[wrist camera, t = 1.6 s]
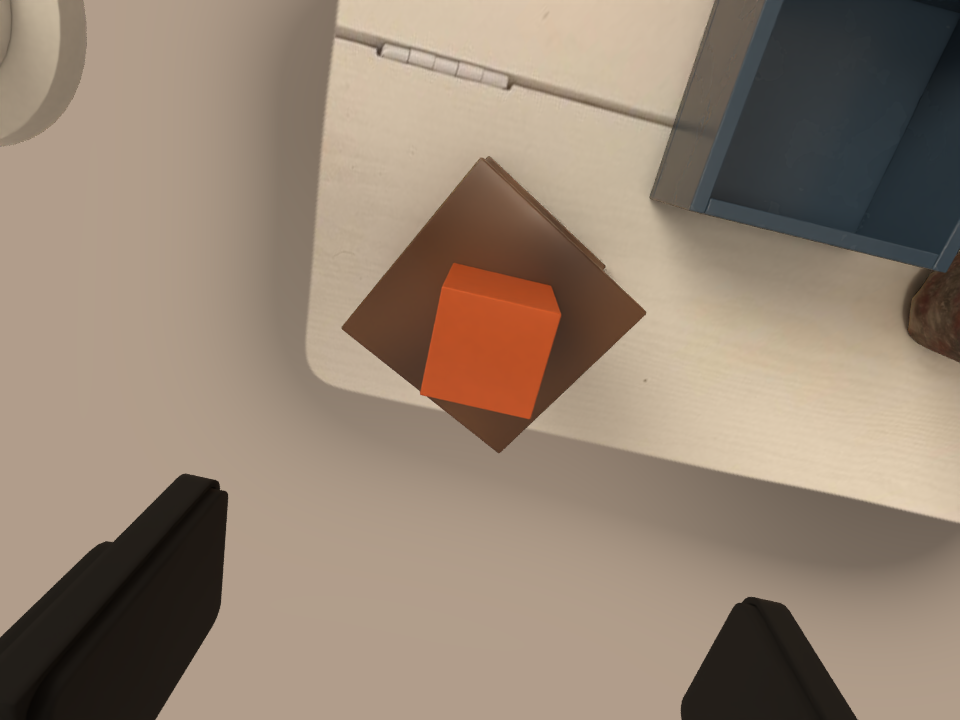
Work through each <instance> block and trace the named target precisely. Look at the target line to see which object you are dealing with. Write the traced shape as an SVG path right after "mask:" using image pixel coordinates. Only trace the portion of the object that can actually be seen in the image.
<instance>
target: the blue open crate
mask: <svg viewBox="0 0 960 720" xmlns="http://www.w3.org/2000/svg"><path fill="white" fill-rule="evenodd" d="M650 199H654V200H657V201H660V202H663V203H666V204H670V205H673V206H676V207H679V208H683V209H686V210H689V211H693V212H697V213H701V214H705V215H709V216H713V217H718V218H722V219H726V220H730V221H734V222H738V223H742V224H746V225H750V226H754V227H758V228H762V229H767V230H771V231H775V232H779V233H783V234H787V235H791V236H795V237H799V238H803V239H807V240H811V241H815V242H820V243H824V244H828V245H832V246H836V247H840V248H844V249H848V250H852V251H856V252H860V253H864V254H869V255H873V256H877V257H881V258H885V259H889V260H893V261H897V262H901V263H905V264H909V265H913V266H918V267H922V268H926V269H930V270H934V271H938V272H942V273H946V272H947V271H948V269H949V267H950V265H951V264H952V262H953V260H954V258H955V256H956V255H957V253H958V251H959V249H960V0H715V3H714V6H713V9H712V12H711V15H710V18H709V21H708V24H707V27H706V30H705V33H704V36H703V39H702V42H701V45H700V48H699V51H698V54H697V57H696V60H695V63H694V66H693V69H692V72H691V75H690V78H689V81H688V84H687V87H686V90H685V93H684V96H683V99H682V101H681V104H680V107H679V110H678V113H677V116H676V119H675V122H674V125H673V128H672V131H671V134H670V137H669V140H668V143H667V146H666V149H665V152H664V155H663V158H662V161H661V164H660V167H659V170H658V173H657V176H656V179H655V182H654V185H653V188H652V191H651V194H650Z"/></svg>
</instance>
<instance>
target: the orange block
mask: <svg viewBox="0 0 960 720" xmlns="http://www.w3.org/2000/svg"><path fill="white" fill-rule="evenodd" d="M560 318H561V312H560V309H559V307H558V304H557V301H556V298H555V295H554V292H553V289H552V287H551V286H550V285H546V284H541V283H537V282H533V281H529V280H524V279H520V278H516V277H512V276H508V275H503V274H499V273H495V272H491V271H486V270H482V269H478V268H474V267H469V266H465V265H461V264H457V263H453V265H452V267H451V269H450V271H449V273H448V275H447V278H446V280H445V282H444V284H443V286H442V289H441V294H440V299H439V304H438V308H437V313H436V318H435V323H434V328H433V333H432V338H431V343H430V347H429V352H428V357H427V362H426V367H425V372H424V377H423V381H422V386H421V391H420V395H423V396H428V397H432V398H437V399H441V400H446V401H450V402H455V403H459V404H463V405H468V406H472V407H477V408H481V409H486V410H490V411H495V412H499V413H503V414H508V415H512V416H517V417H521V418H526V419H530V418H531V416H532V412H533V409H534V405H535V402H536V399H537V395H538V392H539V389H540V385H541V382H542V379H543V375H544V372H545V369H546V365H547V362H548V358H549V355H550V352H551V348H552V345H553V342H554V338H555V335H556V332H557V328H558V325H559V322H560Z"/></svg>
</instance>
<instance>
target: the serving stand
mask: <svg viewBox="0 0 960 720" xmlns="http://www.w3.org/2000/svg"><path fill="white" fill-rule="evenodd" d="M453 263H457V264H461V265H465V266H469V267H474V268H478V269H482V270H486V271H491V272H495V273H499V274H503V275H508V276H512V277H516V278H520V279H524V280H529V281H533V282H537V283H541V284H546V285H550V286H551V287H552V289H553V292H554V295H555V298H556V301H557V304H558V307H559V309H560V312H561V318H560V322H559V325H558V328H557V332H556V335H555V338H554V342H553V345H552V348H551V352H550V355H549V358H548V362H547V365H546V369H545V372H544V375H543V379H542V382H541V385H540V389H539V392H538V395H537V399H536V402H535V405H534V409H533V412H532V416H531V418H530V419H526V418H521V417H517V416H512V415H508V414H503V413H499V412H495V411H490V410H486V409H481V408H477V407H472V406H468V405H463V404H459V403H455V402H450V401H446V400H441V399H437V398H432V397H428V396H427V397H428V398H429V399H431V400H432V401H433V402H434V403H436V404H437V405H438V406H440V407H441V408H442V409H443V410H445V411H446V412H447V413H448V414H450V415H451V416H452V417H453V418H455V419H456V420H457V421H459V422H460V423H461V424H462V425H464V426H465V427H466V428H467V429H469V430H470V431H471V432H472V433H474V434H475V435H476V436H478V437H479V438H480V439H481V440H482V441H484V442H485V443H486V444H488V445H489V446H490V447H491V448H493V449H494V450H495V451H496V452H498V453H500V452H501V451H502V450H503V449H505V448H506V447H507V445H509V444H510V443H511V442H512V441H513V440H514V439H515V438H516V437H517V436H518V435H519V434H520V433H521V432H522V431H523V430H525V429H526V428H527V427H528V426H529V425H530V424H531V423H532V422H533V421H534V420H535V419H536V418H537V417H538V416H539V415H540V414H541V413H542V412H543V411H545V410H546V409H547V408H548V407H549V406H550V405H551V404H552V403H553V402H554V401H555V400H556V399H557V398H558V397H559V396H560V395H561V394H562V393H563V392H565V391H566V390H567V389H568V388H569V387H570V386H571V385H572V384H573V383H574V382H575V381H576V380H577V379H578V378H579V377H580V376H581V375H582V374H583V373H585V372H586V371H587V370H588V369H589V368H590V367H591V366H592V365H593V364H594V363H595V362H596V361H597V360H598V359H599V358H600V357H601V356H602V355H603V354H605V353H606V352H607V351H608V350H609V349H610V348H611V347H612V346H613V345H614V344H615V343H616V342H617V341H618V340H619V339H620V338H621V337H622V336H623V335H625V334H626V333H627V332H628V331H629V330H630V329H631V328H632V327H633V326H634V325H635V324H636V323H637V322H638V321H639V320H640V319H641V318H642V317H643V316H645V315H646V311H645V310H644V309H643V308H642V307H641V306H640V305H639V304H638V303H637V302H636V301H635V300H634V299H633V298H631V297H630V296H629V295H628V294H627V293H626V292H625V291H624V290H623V289H622V288H621V287H620V286H619V285H618V284H617V283H616V282H614V281H613V280H612V279H611V278H610V277H609V276H608V275H607V274H606V273H605V272H604V271H603V269H604V268H605V265H604V264H603V263H602V262H601V261H600V260H599V259H598V258H597V257H596V256H595V255H594V254H593V253H592V252H590V251H589V250H588V249H587V248H586V247H585V246H584V245H583V244H582V243H581V242H580V241H579V240H578V239H577V238H576V237H575V236H574V235H573V234H571V233H570V232H569V231H568V230H567V229H566V228H565V227H564V226H563V225H562V224H561V223H560V222H559V221H558V220H557V219H556V218H555V217H554V216H552V215H551V214H550V213H549V212H548V211H547V210H546V209H545V208H544V207H543V206H542V205H541V204H540V203H539V202H538V201H537V200H536V199H535V198H533V197H532V196H531V195H530V194H529V193H528V192H527V191H526V190H525V189H524V188H523V187H522V186H521V185H520V184H519V183H518V182H517V181H515V180H514V179H513V178H512V177H511V176H510V175H509V174H508V173H507V172H506V171H505V170H504V169H503V168H502V167H501V166H500V165H499V164H498V163H496V162H495V161H494V160H493V159H492V158H491V157H490V156H488V157H487V158H486V159H484V158H480V159H479V160H478V161H477V162H476V164H475V165H474V166H473V167H472V169H471V170H470V171H469V172H468V173H467V175H466V176H465V177H464V178H463V180H462V181H461V182H460V183H459V184H458V186H457V187H456V188H455V189H454V191H453V192H452V193H451V194H450V195H449V197H448V198H447V199H446V200H445V201H444V203H443V204H442V205H441V206H440V208H439V209H438V210H437V211H436V212H435V214H434V215H433V216H432V217H431V219H430V220H429V221H428V222H427V223H426V225H425V226H424V227H423V228H422V230H421V231H420V232H419V233H418V234H417V236H416V237H415V238H414V239H413V241H412V242H411V243H410V244H409V245H408V247H407V248H406V249H405V250H404V252H403V253H402V254H401V255H400V256H399V258H398V259H397V260H396V261H395V263H394V264H393V265H392V266H391V267H390V269H389V270H388V271H387V272H386V274H385V275H384V276H383V277H382V278H381V280H380V281H379V282H378V283H377V284H376V286H375V287H374V288H373V289H372V291H371V292H370V293H369V294H368V295H367V297H366V298H365V299H364V300H363V302H362V303H361V304H360V305H359V306H358V308H357V309H356V310H355V311H354V313H353V314H352V315H351V316H350V317H349V319H348V320H347V321H346V322H345V324H344V325H343V326H342V330H344V331H345V332H346V333H347V334H349V335H350V336H351V337H352V338H354V339H355V340H356V341H358V342H359V343H360V344H361V345H363V346H364V347H365V348H366V349H368V350H369V351H370V352H371V353H373V354H374V355H375V356H376V357H378V358H379V359H380V360H381V361H383V362H384V363H385V364H387V365H388V366H389V367H390V368H392V369H393V370H394V371H395V372H397V373H398V374H399V375H400V376H402V377H403V378H404V379H405V380H407V381H408V382H409V383H411V384H412V385H413V386H414V387H416V388H417V389H418V390H419V391H421V386H422V381H423V377H424V372H425V367H426V362H427V357H428V352H429V347H430V343H431V338H432V333H433V328H434V323H435V318H436V313H437V308H438V304H439V299H440V294H441V289H442V286H443V284H444V282H445V280H446V278H447V275H448V273H449V271H450V269H451V267H452V265H453Z"/></svg>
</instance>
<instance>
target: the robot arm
mask: <svg viewBox="0 0 960 720" xmlns="http://www.w3.org/2000/svg"><path fill="white" fill-rule="evenodd" d="M11 17H12V16H11V7H10V0H0V65H1V64H2V62H3V60H4V58H5V56H6V52H7V48H8V44H9V41H10V34H11ZM227 506H228V493H227V492H226V491H222V490H220V485H219V482H218V481H216V480H213V479H208V478H203V477H199V476H194V475H190V474H182V475H181V476H179V477H178V478H177V479H176V480H175V481H174V482H173V483H172V484H171V485H170V486H169V487H168V488H167V489H166V490H165V491H164V492H163V493H162V494H161V495H160V496H159V497H158V498H157V499H156V500H155V501H154V502H153V503H152V504H151V505H150V506H149V507H148V508H147V509H146V510H145V511H144V512H143V513H142V514H141V515H140V516H139V517H138V518H137V519H136V520H135V521H134V522H133V523H132V524H131V525H130V526H129V527H128V528H127V529H126V530H125V531H124V532H123V533H122V534H121V535H120V536H119V537H118V538H117V539H116V540H115V541H114V542H107V541H106V542H103V543H101V544H98V545H97V546H96V547H94V548H93V549H92V550H91V551H89V553H87V554H86V555H85V556H84V557H83V558H82V559H81V560H80V561H79V562H78V563H77V564H76V565H75V566H74V567H73V568H72V569H71V570H70V571H69V572H68V573H67V574H66V575H64V576H63V578H61V580H59V581H58V582H57V583H56V584H55V585H54V586H53V587H52V588H51V589H50V590H49V591H48V592H47V593H46V594H45V595H44V596H43V597H42V598H41V599H40V600H39V601H38V602H36V603H35V604H34V605H33V606H32V607H31V608H30V609H29V610H28V611H27V612H26V613H25V614H24V615H23V616H22V617H21V618H20V619H19V620H18V621H17V622H16V623H15V624H14V625H13V626H12V627H11V628H10V629H9V630H7V631H6V632H5V633H4V634H3V636H1V637H0V720H155V719H156V718H157V716H158V714H159V713H160V711H161V710H162V708H163V706H164V705H165V703H166V701H167V700H168V698H169V696H170V695H171V693H172V691H173V690H174V688H175V686H176V685H177V683H178V682H179V680H180V678H181V677H182V675H183V674H184V672H185V670H186V669H187V667H188V665H189V664H190V662H191V661H192V659H193V657H194V655H195V654H196V652H197V651H198V649H199V647H200V646H201V644H202V642H203V641H204V639H205V638H206V636H207V634H208V633H209V631H210V629H211V628H212V626H213V624H214V622H215V620H216V618H217V615H218V612H219V609H220V605H221V594H222V593H221V592H222V579H223V564H224V563H223V562H224V550H225V535H226V521H227ZM681 718H682V720H857V718H856V716H855V715H854V713H853V712H852V710H851V708H850V707H849V705H848V704H847V702H846V700H845V699H844V697H843V696H842V694H841V693H840V691H839V689H838V688H837V686H836V685H835V683H834V682H833V680H832V678H831V677H830V675H829V673H828V672H827V670H826V669H825V667H824V665H823V664H822V662H821V661H820V659H819V658H818V656H817V654H816V653H815V651H814V649H813V648H812V646H811V645H810V643H809V641H808V640H807V638H806V637H805V635H804V634H803V632H802V630H801V629H800V627H799V625H798V624H797V622H796V621H795V619H794V617H793V616H792V614H791V613H790V611H789V610H788V609H787V607H786V606H785V605H783V604H781V603H777V602H773V601H768V600H763V599H759V598H755V597H748V598H746V599H745V600H744V601H743V602H742V603H737V604H736V605H735V606H734V607H733V609H732V611H731V613H730V614H729V616H728V618H727V620H726V621H725V624H724V625H723V627H722V629H721V630H720V632H719V634H718V636H717V638H716V640H715V641H714V643H713V645H712V647H711V649H710V651H709V652H708V654H707V656H706V658H705V659H704V661H703V663H702V665H701V667H700V669H699V670H698V672H697V674H696V676H695V677H694V679H693V682H692V683H691V685H690V687H689V688H688V690H687V692H686V694H685V696H684V697H683V700H682V704H681Z"/></svg>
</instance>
